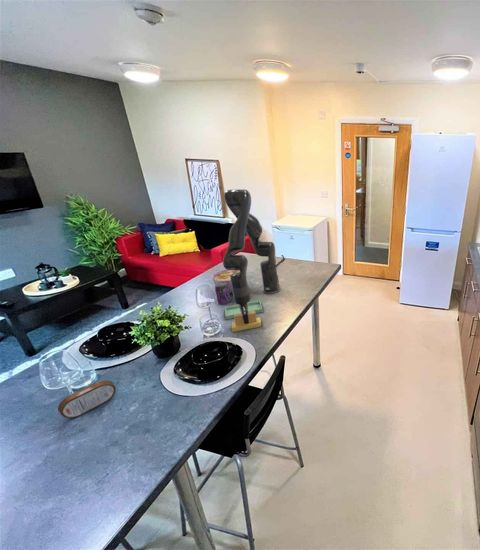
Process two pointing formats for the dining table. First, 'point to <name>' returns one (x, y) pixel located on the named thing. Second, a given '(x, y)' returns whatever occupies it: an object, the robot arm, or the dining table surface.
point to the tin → (86, 399)
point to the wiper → (240, 324)
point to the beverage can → (222, 292)
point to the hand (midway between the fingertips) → (246, 321)
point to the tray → (236, 310)
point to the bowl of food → (224, 277)
